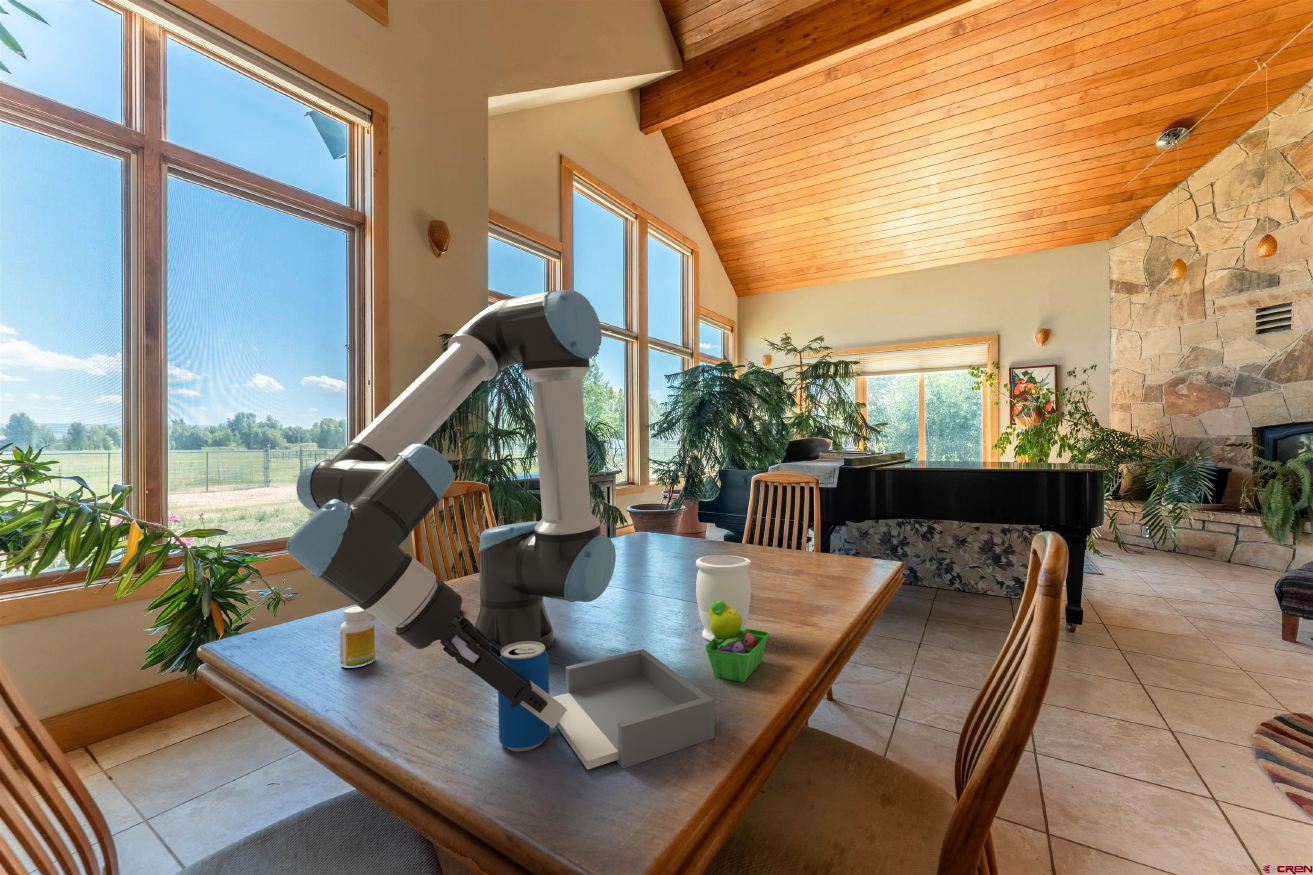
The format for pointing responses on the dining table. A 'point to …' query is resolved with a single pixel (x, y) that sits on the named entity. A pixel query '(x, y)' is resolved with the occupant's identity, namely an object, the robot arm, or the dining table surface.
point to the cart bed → (631, 710)
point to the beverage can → (518, 722)
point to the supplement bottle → (357, 638)
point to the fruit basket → (733, 644)
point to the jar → (722, 587)
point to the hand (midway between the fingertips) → (550, 705)
